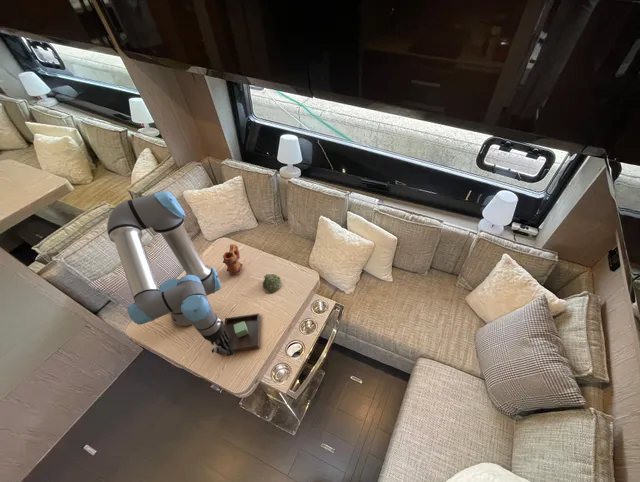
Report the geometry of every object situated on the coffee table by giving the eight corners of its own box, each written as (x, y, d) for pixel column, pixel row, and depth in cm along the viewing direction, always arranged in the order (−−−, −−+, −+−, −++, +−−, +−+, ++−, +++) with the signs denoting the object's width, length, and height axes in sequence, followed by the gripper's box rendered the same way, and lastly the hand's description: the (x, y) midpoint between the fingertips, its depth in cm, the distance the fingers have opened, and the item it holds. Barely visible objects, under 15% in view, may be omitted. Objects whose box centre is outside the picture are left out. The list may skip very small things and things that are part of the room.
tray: (223, 353, 131) (221, 351, 128) (227, 321, 142) (225, 318, 139) (259, 348, 133) (257, 345, 130) (260, 316, 144) (259, 313, 142)
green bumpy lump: (270, 293, 151) (261, 277, 149) (264, 294, 157) (256, 279, 155) (285, 285, 158) (277, 269, 156) (279, 286, 163) (271, 271, 161)
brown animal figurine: (240, 277, 160) (233, 260, 149) (226, 277, 160) (217, 260, 149) (247, 259, 170) (240, 241, 158) (234, 258, 169) (226, 241, 158)
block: (238, 338, 135) (235, 333, 131) (236, 329, 138) (233, 324, 134) (248, 334, 137) (246, 329, 133) (246, 325, 140) (243, 320, 136)
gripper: (219, 342, 95) (238, 367, 113) (223, 309, 103) (241, 337, 121) (195, 345, 94) (219, 370, 112) (202, 312, 102) (223, 340, 120)
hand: (230, 353), depth 116 cm, fingers closed
